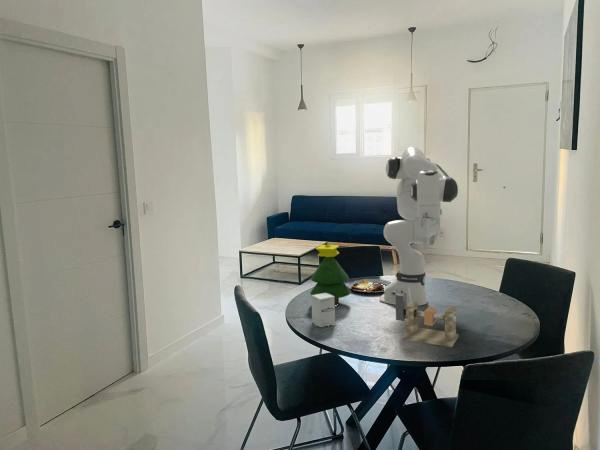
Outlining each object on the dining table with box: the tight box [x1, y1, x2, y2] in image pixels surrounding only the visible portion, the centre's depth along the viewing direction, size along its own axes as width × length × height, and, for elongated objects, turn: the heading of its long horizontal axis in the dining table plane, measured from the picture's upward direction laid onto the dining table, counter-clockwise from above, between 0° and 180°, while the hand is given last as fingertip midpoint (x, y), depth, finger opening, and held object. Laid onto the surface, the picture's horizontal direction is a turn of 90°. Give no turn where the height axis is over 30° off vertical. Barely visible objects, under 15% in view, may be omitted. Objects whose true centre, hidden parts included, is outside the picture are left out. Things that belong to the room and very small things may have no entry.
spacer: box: [423, 306, 437, 327], centre depth 176 cm, size 3×5×5 cm, turn 149°
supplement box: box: [310, 293, 336, 328], centre depth 196 cm, size 7×7×13 cm
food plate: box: [346, 278, 393, 294], centre depth 245 cm, size 25×23×4 cm
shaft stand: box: [403, 302, 459, 348], centre depth 177 cm, size 18×10×12 cm, turn 59°
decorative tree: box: [310, 243, 352, 305], centre depth 220 cm, size 19×19×30 cm
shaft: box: [395, 292, 457, 323], centre depth 177 cm, size 22×4×10 cm, turn 59°
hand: (428, 246), depth 185 cm, fingers open, 8 cm apart
